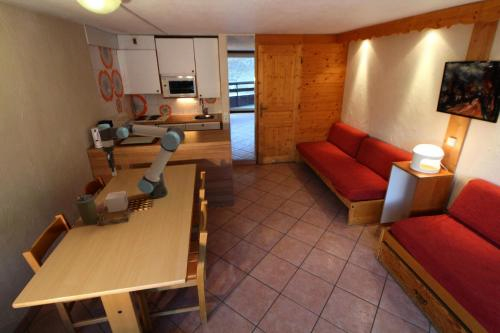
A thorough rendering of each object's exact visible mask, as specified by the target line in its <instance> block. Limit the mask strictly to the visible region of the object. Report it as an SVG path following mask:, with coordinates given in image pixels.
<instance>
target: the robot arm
mask: <svg viewBox="0 0 500 333" xmlns="http://www.w3.org/2000/svg"><path fill="white" fill-rule="evenodd" d="M97 131H98V135H99V138H100V139H99V140H100V144H101V147H102V148H101V149H102V151H103V153H106V156H105V157H106V161H107V164H108V166H109V167H108V168H109V169H110V170H111V176H112V177H114V176H117V171H116V166H117V165H116V163H115V157H114V152H115V145H114V139H126V138H128V136H129V135H138V136H144V137H151V138H152V137H154V138H160V139H161V141H160V143H159V146H160V148H159V150H158V152H157V154H156V155H155V158H154V160H153V161H152V163H151V165H150V167H149V168H148V169H147V170H146V171H145V172H144V174H143V176H142V177H141V179H140V180H139V181H138V182H137V188H138V190H139V191H140V192H141V193H143V194H148V197H149V198H151V199H161V198H164V197H166V196H167V195H168V193H169V192H168V191H169V190H168V189H167V187H166V185H165V180H164V172H163V171H164V168H165V166H166V165H167V163H168V162H169V159H170V157H171V156H172V155H173V154H174V153H176V151H177V150H178V148H179V146H180V145H181V144H182V143H183V142H184V141H185V138H186V134H185V132H184V130H183V129H181V128H179V127H174V126H172V127H171V126H168V127H162V126H161V127H160V126H152V125H151V126H149V125H143V124H135V123H133V122H126V123H125V124H122V125H120V126H115V127H113V126H112V127H111V126H110V124H109V123H103V124H102V123H101V124H99V125H97Z"/></svg>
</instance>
